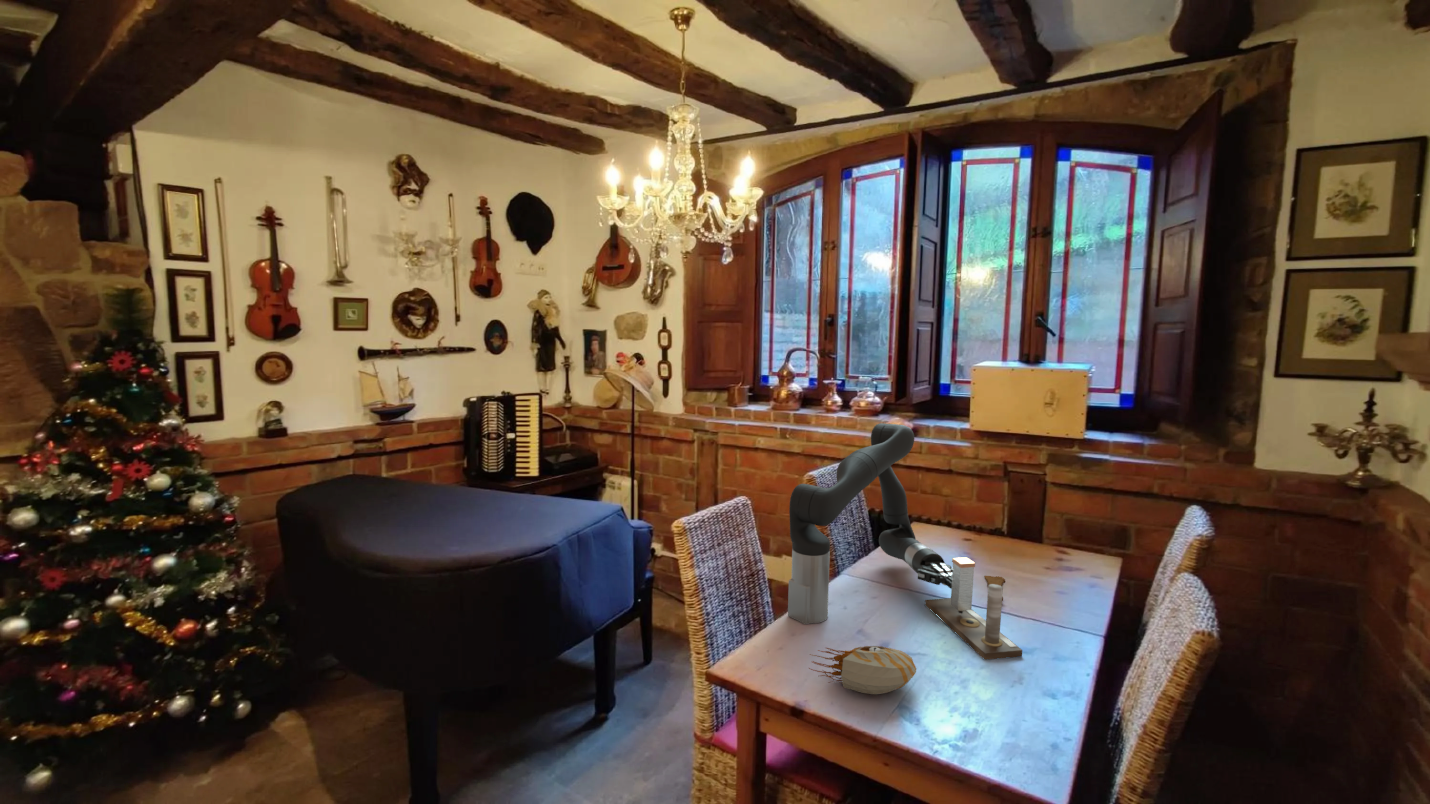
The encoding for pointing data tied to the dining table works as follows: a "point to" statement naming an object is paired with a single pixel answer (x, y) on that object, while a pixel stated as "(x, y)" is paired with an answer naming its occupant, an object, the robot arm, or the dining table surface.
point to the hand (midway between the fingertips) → (957, 586)
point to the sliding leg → (962, 584)
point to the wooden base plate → (978, 625)
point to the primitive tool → (994, 581)
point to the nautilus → (871, 669)
